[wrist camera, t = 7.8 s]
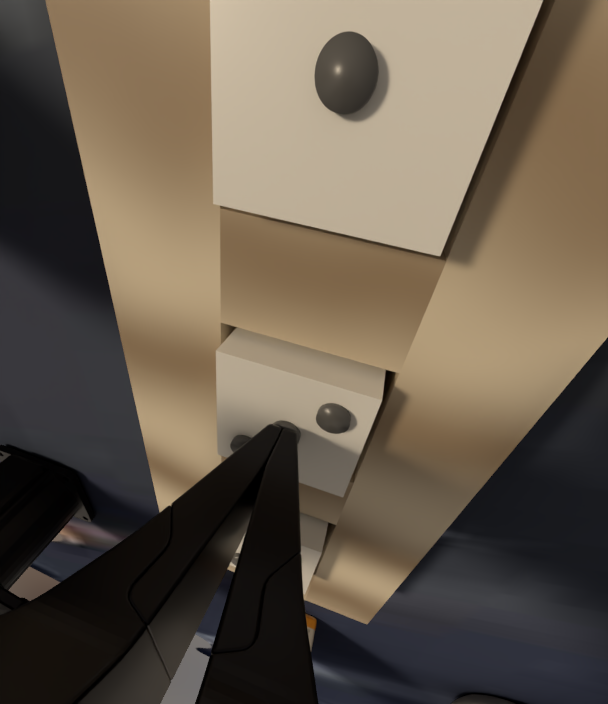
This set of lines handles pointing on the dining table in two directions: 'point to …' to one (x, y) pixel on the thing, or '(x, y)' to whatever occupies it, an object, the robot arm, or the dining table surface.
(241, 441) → the button three dots
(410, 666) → the dining table surface
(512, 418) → the button panel
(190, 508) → the robot arm
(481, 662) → the dining table surface
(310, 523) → the button two dots
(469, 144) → the button one dot
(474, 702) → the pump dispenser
